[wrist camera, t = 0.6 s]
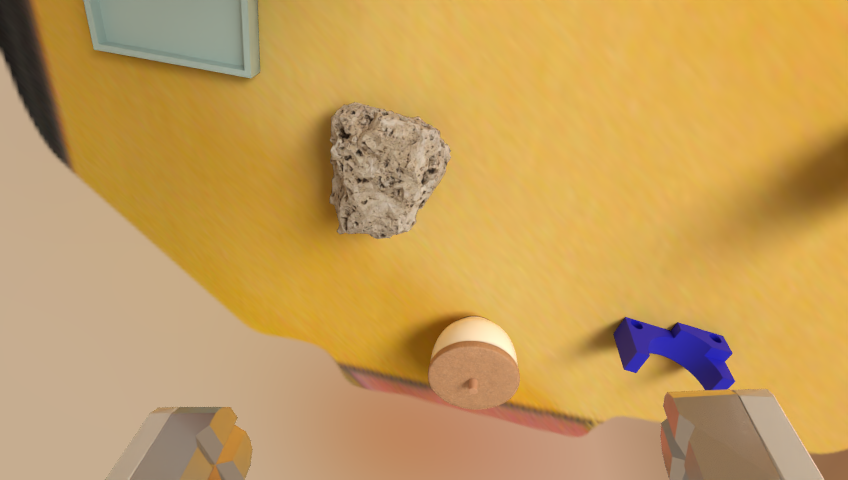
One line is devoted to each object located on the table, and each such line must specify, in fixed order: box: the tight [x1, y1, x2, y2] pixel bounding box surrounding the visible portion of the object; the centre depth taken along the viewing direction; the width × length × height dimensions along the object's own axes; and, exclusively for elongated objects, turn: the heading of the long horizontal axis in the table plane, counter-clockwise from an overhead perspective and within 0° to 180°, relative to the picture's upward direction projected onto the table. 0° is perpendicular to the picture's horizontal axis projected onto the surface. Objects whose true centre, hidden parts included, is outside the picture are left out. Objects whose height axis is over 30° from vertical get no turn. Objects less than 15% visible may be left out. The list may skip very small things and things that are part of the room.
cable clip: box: [614, 317, 735, 390], centre depth 59 cm, size 12×4×6 cm, turn 74°
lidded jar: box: [428, 316, 520, 409], centre depth 61 cm, size 11×11×9 cm
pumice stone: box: [330, 102, 451, 239], centre depth 49 cm, size 14×12×8 cm
